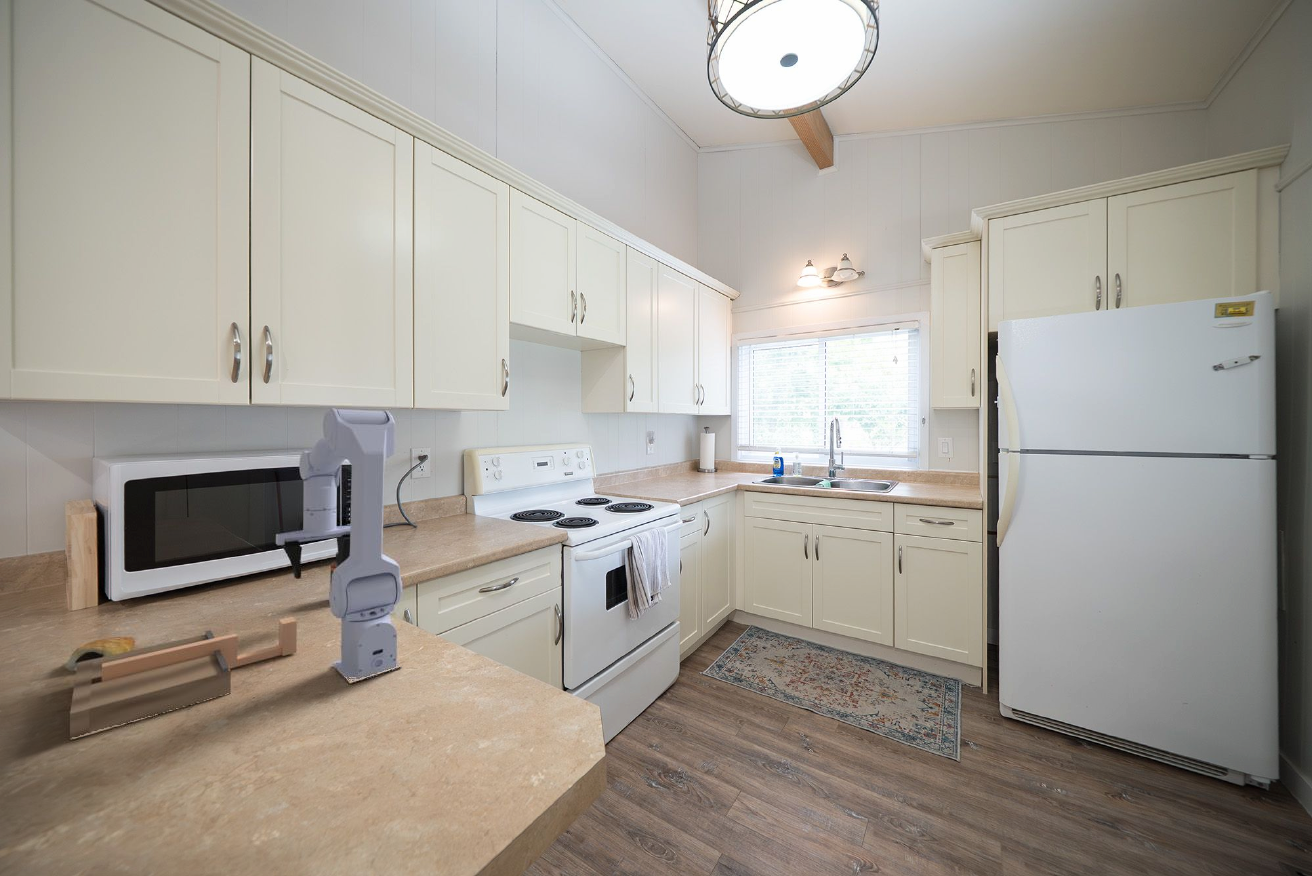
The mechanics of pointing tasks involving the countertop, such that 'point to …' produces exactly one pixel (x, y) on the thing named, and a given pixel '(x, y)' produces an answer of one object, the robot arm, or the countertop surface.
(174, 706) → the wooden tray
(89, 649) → the pastry
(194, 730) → the countertop surface
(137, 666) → the stepped wooden plank
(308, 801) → the countertop surface
